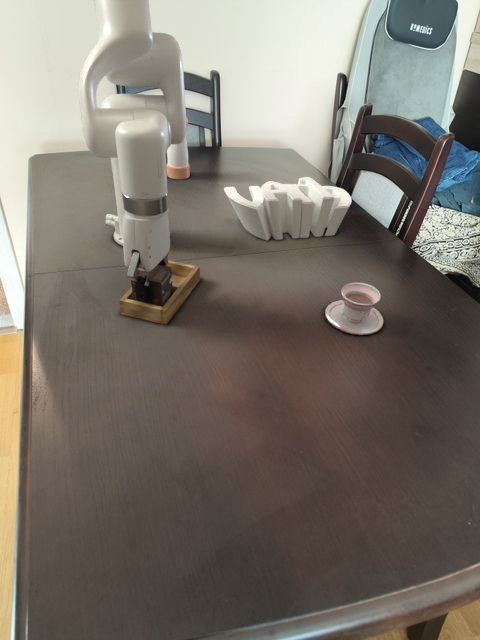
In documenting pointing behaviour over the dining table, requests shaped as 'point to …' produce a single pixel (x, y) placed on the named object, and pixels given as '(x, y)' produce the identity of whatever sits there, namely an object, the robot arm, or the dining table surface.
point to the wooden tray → (182, 286)
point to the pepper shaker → (178, 160)
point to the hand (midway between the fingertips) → (152, 291)
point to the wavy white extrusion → (291, 209)
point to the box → (158, 285)
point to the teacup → (356, 310)
